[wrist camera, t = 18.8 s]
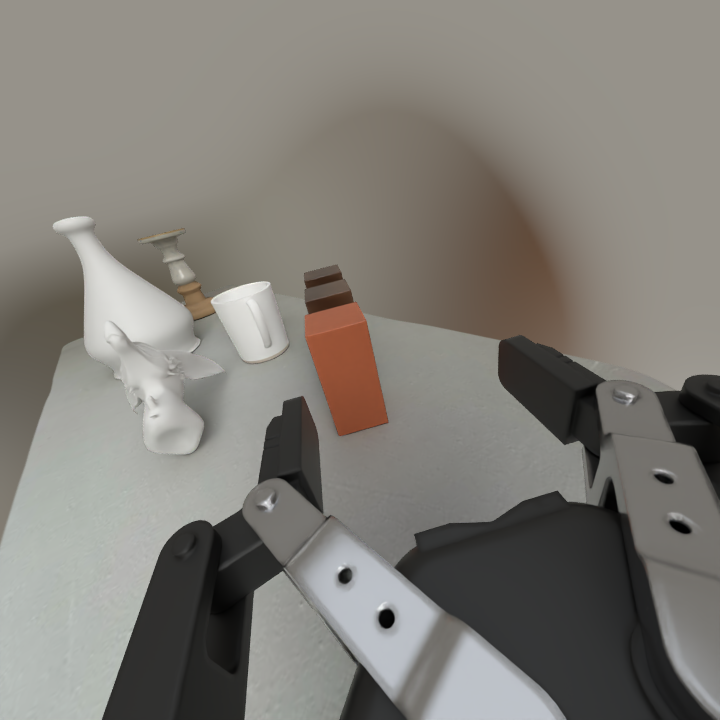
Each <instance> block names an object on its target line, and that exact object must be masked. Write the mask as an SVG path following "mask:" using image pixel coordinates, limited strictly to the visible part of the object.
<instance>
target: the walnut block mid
mask: <svg viewBox="0 0 720 720" xmlns="http://www.w3.org/2000/svg"><path fill="white" fill-rule="evenodd" d="M350 303H353V297H352V293H351V290H350V288H349V286H348V284H347V282H346V280H345V279H342V280H339V281H335V282H331V283H327V284H323V285H319V286H316V287H312V288H308V289H305V304H306V307H307V310H308V313H309V314H312V313H316V312H319V311H323V310H327V309H331V308H334V307H338V306H342V305H346V304H350Z"/></svg>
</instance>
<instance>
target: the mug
mask: <svg viewBox="0 0 720 720" xmlns="http://www.w3.org/2000/svg"><path fill="white" fill-rule="evenodd" d="M211 304H212V306H213V308H214V309H215V311H216V313H217V315H218V317H219V319H220V320H221V322H222V324H223V326H224V328H225V329H226V331H227V333H228V335H229V337H230V339H231V340H232V342H233V344H234V346H235V348H236V349H237V351H238V353H239V355H240V357H241V358H242V360H243V361H244V362H246V363H249V364H256V363H262V362H265V361H268V360H271V359H273V358H275V357H277V356H279V355H281V354H282V353H283V352H284V351H285V350H287V348H288V346H289V340H288V337H287V334H286V331H285V328H284V324H283V321H282V318H281V315H280V312H279V309H278V306H277V303H276V299H275V296H274V293H273V290H272V287H271V284H270V283H269V282H255V283H250V284H246V285H242V286H239V287H236V288H233V289H230V290H228V291H225V292H223V293H221V294H219V295H217V296H216V297H214V298H213V299H212V300H211Z"/></svg>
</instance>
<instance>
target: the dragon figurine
mask: <svg viewBox="0 0 720 720" xmlns="http://www.w3.org/2000/svg"><path fill="white" fill-rule="evenodd" d="M104 338H105V341H106V342H107V343H108V344H110V345H111V347H112V348H113V349H114V350H115V351H116V352H117V353H118V354H119V357H120V360H121V366H120V375H121V377H122V382H123V383H124V384H125V386H124V388H125V391H126V396H127V399H128V401H129V404H130V406H131V408H132V410H133V411H134V409H135V408H136V407H138V406H139V405H140V404H141V403H142V401H143V402H144V403H145V408H144V414H143V439H144V443H145V446H146V448H147V449H148V450H149V451H151V452H154V453H159V454H180V455H183V454H190V453H192V452H194V451H195V450H196V449H197V447H198V445H199V442H200V439H201V436H202V433H203V430H204V421H203V420H202V418H201V417H200V416H199V415H198V414H197V413H196V412H195V411H194V410H192V409H191V408H189V407H188V406H187V405H186V404H185V403H184V400H183V397H184V379H193V380H196V379H202V378H206V377H209V376H212V375H215V374H218V373H221V372H225V371H224V369H223V368H222V367H220V366H219V365H218V364H217V363H215V362H214V361H212V360H211V359H208V358H206V357H203V356H201V355H197V354H193V353H190V352H185V351H171V350H158V349H156V348H154V347H152V346H150V345H148V344H146V343H143V342H132V341H131V340H130V339H129V338H128V337H127V335H126V334H125V333H124V332H123V331H122V330H121V329H120V328H119V327H118V326H117V325H116V324H115V323H113V322H112V321H106V322H105V324H104ZM225 373H226V372H225ZM134 412H135V411H134ZM135 413H136V412H135ZM136 414H137V413H136ZM139 415H140V414H139Z"/></svg>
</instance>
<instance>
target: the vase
mask: <svg viewBox="0 0 720 720" xmlns="http://www.w3.org/2000/svg"><path fill="white" fill-rule="evenodd" d="M95 225H96V224H95V221H94V220H93V219H92V218H90V217H85V216H84V217H83V216H80V217H72V218H68V219H63V220H60V221H58V222H56V223H54V225H53V228H54V230H55V231H56V232H57V233H59V234H61V235H64V236H66V237H67V238H68V239H69V240H70V241H71V243H72V244H73V246H74V248H75V249H76V251H77V253H78V256H79V258H80V260H81V263H82V267H83V273H84V287H85V299H84V301H85V302H84V343H85V348H86V350H87V352H88V354H89V355H90V356H91V357H92V358H93V359H95V360H97V361H98V362H100V363H102V364H105V365H107V366H108V367H110V368H111V369H113V370H114V377H115V378H116V379H122V377H121V375H120V366H121V360H120V357H119V354H118V353H117V352H116V351H115V350H114V349H113V348H112V347H111V345H110V344H108V343H107V342H106V341H105V338H104V324H105V322H106V321H112V322H113V323H115V324H116V325H117V326H118V327H119V328H120V329H121V330H122V331H123V332H124V333H125V334H126V335H127V337H128V338H129V339H130V340H131V341H132V342H143V343H146V344H148V345H150V346H152V347H154V348H156V349H158V350H171V351H185V352H190V353H191V352H192V351H194V350H195V349H196V348H197V347H198V345H199V344H200V339H199V338H198V337H195V335H194V331H193V316H192V314H191V312H190V311H189V310H188V309H187V308H186V307H185V306H184V305H182V304H181V303H180V302H178V301H177V300H175V299H173V298H172V297H171V296H169V295H167V294H166V293H164V292H163V291H161V290H160V289H158V288H157V287H155V286H153V285H152V284H150V283H149V282H147V281H146V280H144V279H142V278H141V277H140V276H138V275H137V274H135V273H133V272H132V271H131V270H129V269H127V268H126V267H125V266H124V265H122V264H121V263H120V262H118V261H117V260H116V259H115V258H114V257H113V256H111V255H110V254H109V253H108V252H107V250H106V249H105V248H104V247H103V245H102V244H101V243H100V242H99V240H98V239H97V237H96V235H95V233H94V228H95Z"/></svg>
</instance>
